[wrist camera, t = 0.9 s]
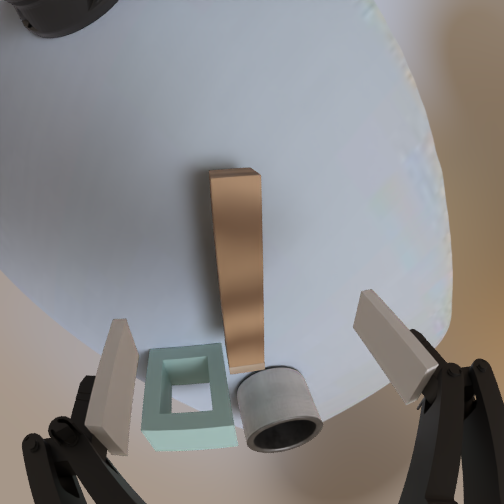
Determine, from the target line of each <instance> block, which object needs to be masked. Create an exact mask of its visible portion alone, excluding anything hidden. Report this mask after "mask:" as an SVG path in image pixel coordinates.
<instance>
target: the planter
mask: <svg viewBox="0 0 504 504" xmlns="http://www.w3.org/2000/svg"><path fill="white" fill-rule="evenodd" d="M237 401H238V406H239V410H240V415H241V419H242V424H243V428H244V433H245V437H246V442H247V445H248V447H249V448H250V449H252V450H254V451H257V452H263V453H274V452H282V451H286V450H290V449H293V448H296V447H299V446H301V445H303V444H305V443H307V442H309V441H310V440H312V439H313V438H314V437H316V436H317V435H318V434H319V432H320V431H321V430H322V427H323V423H322V420H321V418H320V415H319V413H318V411H317V408H316V406H315V403H314V401H313V398H312V396H311V393H310V391H309V388H308V386H307V383H306V381H305V379H304V377H303V376H302V374H301V373H300V372H298V371H296V370H294V369H291V368H271V369H266V370H263V371H260V372H257V373H255V374H253V375H252V376H250V377H248V378H247V379H246V380H245V381H244V382H243V383H242V384H241V385H240V386H239V388H238V390H237Z"/></svg>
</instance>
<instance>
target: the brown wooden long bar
mask: <svg viewBox="0 0 504 504" xmlns="http://www.w3.org/2000/svg"><path fill="white" fill-rule="evenodd" d="M209 180H210V193H211V206H212V219H213V230H214V242H215V252H216V263H217V273H218V282H219V292H220V301H221V310H222V318H223V327H224V335H225V346H226V352H227V358H228V364H229V370H230V374H238V373H245V372H252V371H258V370H264V369H265V362H264V301H263V242H262V197H261V175H260V174H259V173H257V172H256V171H254V170H253V169H252V168H234V169H221V170H209Z"/></svg>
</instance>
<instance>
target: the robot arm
mask: <svg viewBox="0 0 504 504" xmlns="http://www.w3.org/2000/svg"><path fill="white" fill-rule="evenodd" d="M5 1H7V2H9V3H11V4H12V5H14V7H15V9H16V11H17V13H18V15H19V17H20V19H21V20H22V22H23V24H24V26H25V27H26V28H27V29H28V30H29V31H31V32H33V33H35V34H37V35H39V36H42V37H47V38H54V37H60V36H64V35H68V34H71V33H73V32H75V31H78V30H80V29H82V28H84V27H85V26H87V25H89V24H90V23H92V22H94V21H95V20H96V19H98V18H99V17H101V16H102V15H103V14H104V13H106V12H107V11H108V10H109V9H110V8H111V7H112V6H113V5H114V4H115V3H116V2H117V1H118V0H5ZM353 328H354V329H355V331H356V332H357V334H358V335H359V337H360V338H361V339H362V341H363V342H364V344H365V345H366V347H367V348H368V349H369V351H370V352H371V354H372V355H373V357H374V358H375V360H376V361H377V363H378V364H379V365H380V367H381V368H382V370H383V371H384V373H385V374H386V376H387V377H388V379H389V380H390V382H391V383H392V385H393V386H394V388H395V389H396V391H397V392H398V394H399V395H400V397H401V398H402V400H403V401H404V403H405V404H406V405H407V404H410V403H412V402H414V401H416V400H417V399H418V398H419V396H420V395H421V393H422V394H423V395H424V398H423V400H422V401H421V403H420V404H419V406H418V407H417V410H419V408H420V407H421V406H422V407H421V414H420V420H419V426H418V431H417V437H416V441H415V446H414V451H413V455H412V459H411V463H410V467H409V471H408V474H407V478H406V482H405V485H404V488H403V491H402V494H401V497H400V500H399V503H398V504H458V503H457V502H456V501H454V494H455V489H456V484H457V478H458V472H459V466H460V458H461V459H462V470H463V487H464V504H504V403H503V400H502V397H501V394H500V391H499V388H498V385H497V382H496V379H495V377H494V374H493V371H492V368H491V366H490V364H489V363H488V362H487V361H485V360H483V359H476V360H475V361H474V362H473V363H472V365H471V366H470V367H463V368H461V367H460V366H458V365H457V364H455V363H447V362H446V361H445V360H444V359H443V358H442V357H441V356H440V354H439V353H438V352H437V351H436V350H435V349H434V348H433V346H431V344H430V343H429V342H428V341H426V338H425V337H424V336H423V335H422V334H421V333H419V332H418V331H416V330H415V329H411V330H409V329H408V328H407V327H406V326H405V325H404V323H403V322H402V321H401V320H400V319H399V318H398V317H397V316H396V315H395V313H394V312H393V311H392V310H391V309H390V308H389V307H388V306H387V305H386V304H385V303H384V302H383V300H382V299H381V298H380V297H379V296H378V295H377V294H376V293H375V292H374V291H373V290H372V289H370V290H364V291H361V294H360V299H359V304H358V308H357V312H356V317H355V321H354V325H353ZM138 359H139V354H138V351H137V348H136V346H135V343H134V340H133V337H132V334H131V332H130V329H129V326H128V323H127V320H126V319H113V321H112V324H111V327H110V330H109V333H108V336H107V340H106V343H105V346H104V349H103V353H102V356H101V360H100V363H99V367H98V370H97V374H96V376H86V377H85V378H84V379H83V380H82V382H81V383H80V386H79V389H78V394H77V396H76V401H75V404H74V408H73V411H72V415H71V419H70V418H68V417H66V416H61V417H57V418H55V419H54V420H53V421H51V423H50V425H49V429H48V432H49V435H50V437H51V438H46V439H43V438H42V437H41V436H40V435H38V434H36V433H34V434H32V433H31V434H29V435H27V436H26V437H25V438H24V440H23V442H22V450H23V456H24V462H25V467H26V471H27V476H28V480H29V485H30V488H31V492H32V496H33V499H34V502H35V504H87V502H86V500H85V498H84V495H83V493H82V490H81V487H80V485H79V482H78V479H77V477H76V475H77V476H78V478H79V479H80V481H81V483H82V484H83V486H84V487H85V488H86V490H87V492H88V493H89V494H90V496H91V497H92V499H93V500H94V501H95V503H96V504H146V503H145V502H144V501H143V500H142V498H141V497H140V496H139V495H138V494H137V493H136V492H135V491H134V490H133V489H132V487H131V486H130V485H129V484H128V483H127V482H126V480H125V479H124V478H123V477H122V476H121V474H120V473H119V472H118V471H117V469H116V468H115V467H114V466H113V464H112V463H111V462H110V460H109V459H108V458H107V457H106V454H107V450H108V451H109V452H110V453H111V454H112V455H119V456H128V442H129V429H130V420H131V410H132V402H133V394H134V386H135V379H136V372H137V365H138ZM474 396H476V400H475V398H474Z"/></svg>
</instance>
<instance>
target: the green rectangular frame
mask: <svg viewBox="0 0 504 504" xmlns="http://www.w3.org/2000/svg"><path fill="white" fill-rule="evenodd" d="M209 382H210V389H211V398H212V407H213V410H212V411H201V412H188V413H171V403H172V401H171V400H172V385H187V384H199V383H209ZM141 431H142V433H143V434H144V435H145V437H146V438H147V440H148V441H149V443H150V444H151V445H152V447H153V448H154V449H155V451H185V450H186V451H187V450H203V449H215V448H225V447H234V446H238V442H237V437H236V431H235V426H234V420H233V414H232V409H231V403H230V397H229V391H228V385H227V378H226V372H225V365H224V359H223V352H222V345H221V343H216V344H207V345H197V346H186V347H174V348H160V349H150V351H149V358H148V366H147V374H146V382H145V391H144V401H143V411H142V423H141Z"/></svg>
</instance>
